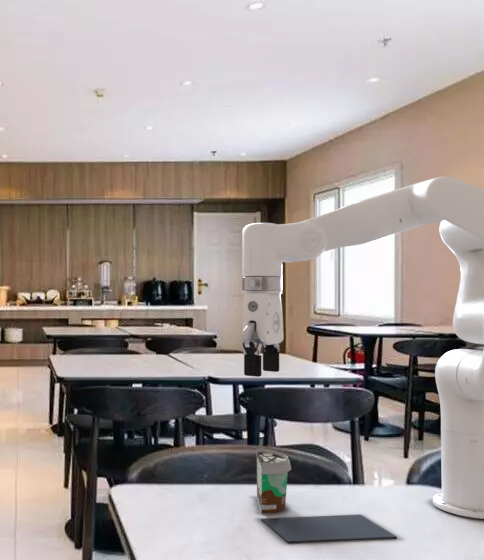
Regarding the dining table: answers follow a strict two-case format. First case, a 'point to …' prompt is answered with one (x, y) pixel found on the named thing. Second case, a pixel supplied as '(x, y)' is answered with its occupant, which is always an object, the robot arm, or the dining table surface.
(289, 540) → the mat
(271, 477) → the food container
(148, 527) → the dining table surface
